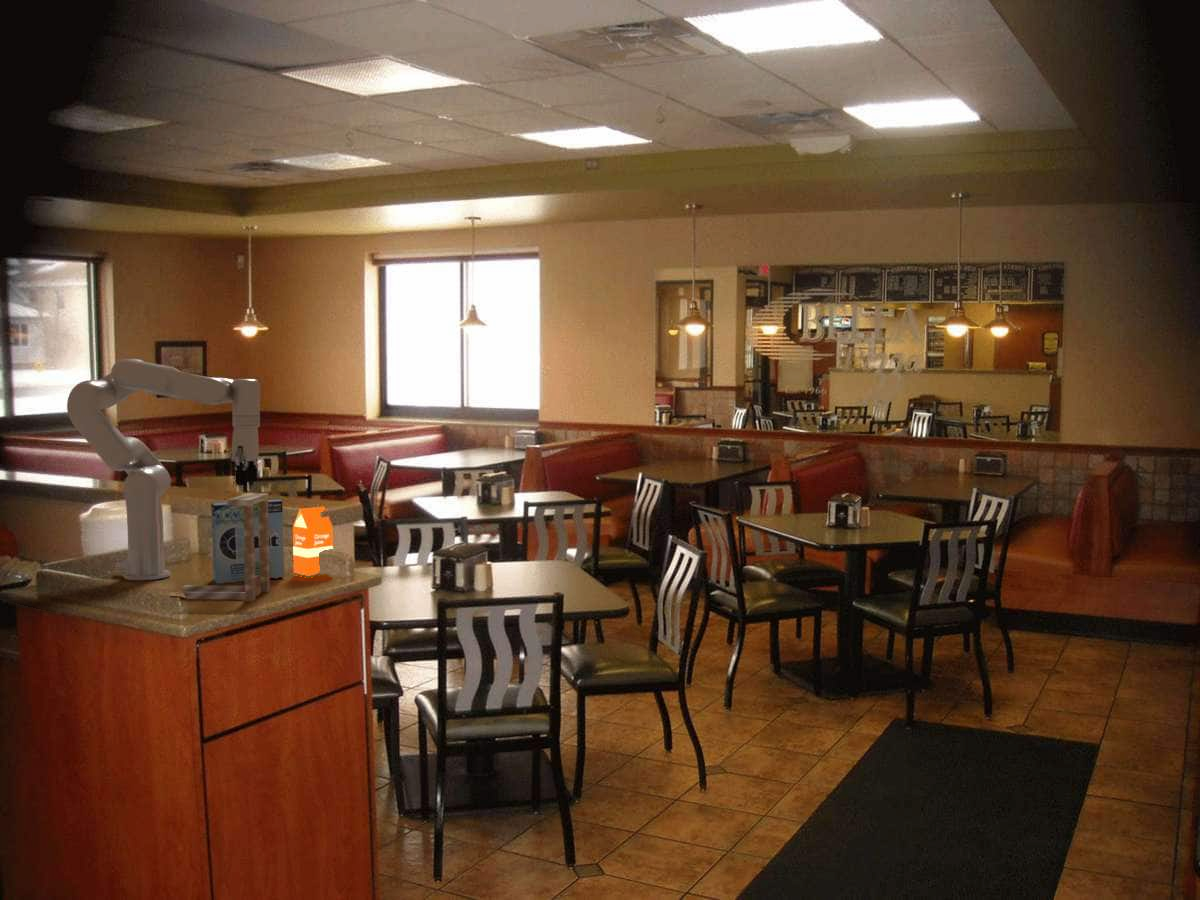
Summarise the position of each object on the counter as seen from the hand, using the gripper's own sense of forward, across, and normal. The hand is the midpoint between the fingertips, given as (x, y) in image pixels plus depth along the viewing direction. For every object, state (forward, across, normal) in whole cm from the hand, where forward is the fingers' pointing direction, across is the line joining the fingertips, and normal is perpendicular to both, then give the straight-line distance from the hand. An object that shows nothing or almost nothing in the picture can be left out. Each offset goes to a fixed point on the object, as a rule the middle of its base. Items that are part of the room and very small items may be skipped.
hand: (246, 482), depth 322 cm
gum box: (+29, 0, +1) cm, 29 cm away
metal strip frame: (+28, +23, -1) cm, 37 cm away
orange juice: (+28, -9, +17) cm, 34 cm away
